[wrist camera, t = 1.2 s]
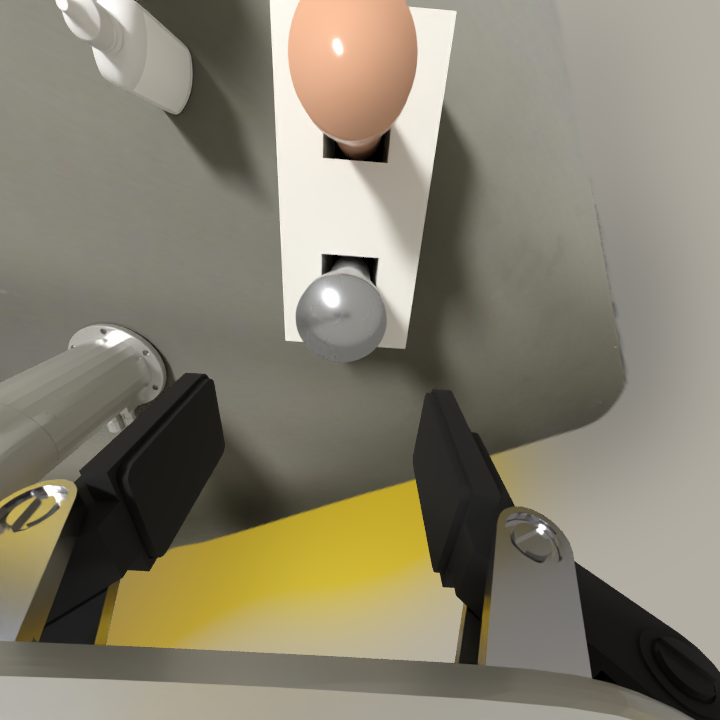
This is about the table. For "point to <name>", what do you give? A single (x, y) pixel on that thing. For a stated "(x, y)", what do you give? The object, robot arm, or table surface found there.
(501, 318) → the table surface
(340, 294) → the grey plug
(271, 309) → the table surface
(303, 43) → the terracotta plug
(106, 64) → the eye dropper bottle
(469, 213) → the table surface
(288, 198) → the block
